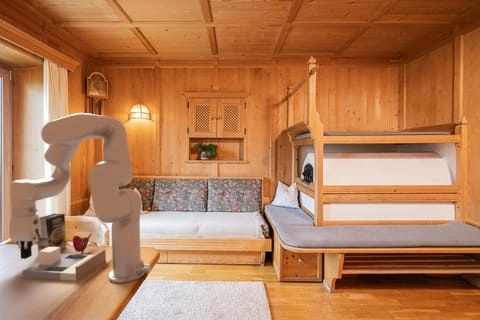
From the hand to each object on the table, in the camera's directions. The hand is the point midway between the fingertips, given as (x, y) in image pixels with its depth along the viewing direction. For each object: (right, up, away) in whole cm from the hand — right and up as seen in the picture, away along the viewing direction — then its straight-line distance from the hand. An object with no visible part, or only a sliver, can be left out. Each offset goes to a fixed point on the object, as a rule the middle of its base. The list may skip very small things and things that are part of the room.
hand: (26, 257), depth 108 cm
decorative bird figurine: (+15, -3, +14) cm, 20 cm away
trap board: (+17, -4, -2) cm, 18 cm away
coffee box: (-1, -3, +16) cm, 17 cm away
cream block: (+10, -1, -1) cm, 10 cm away
